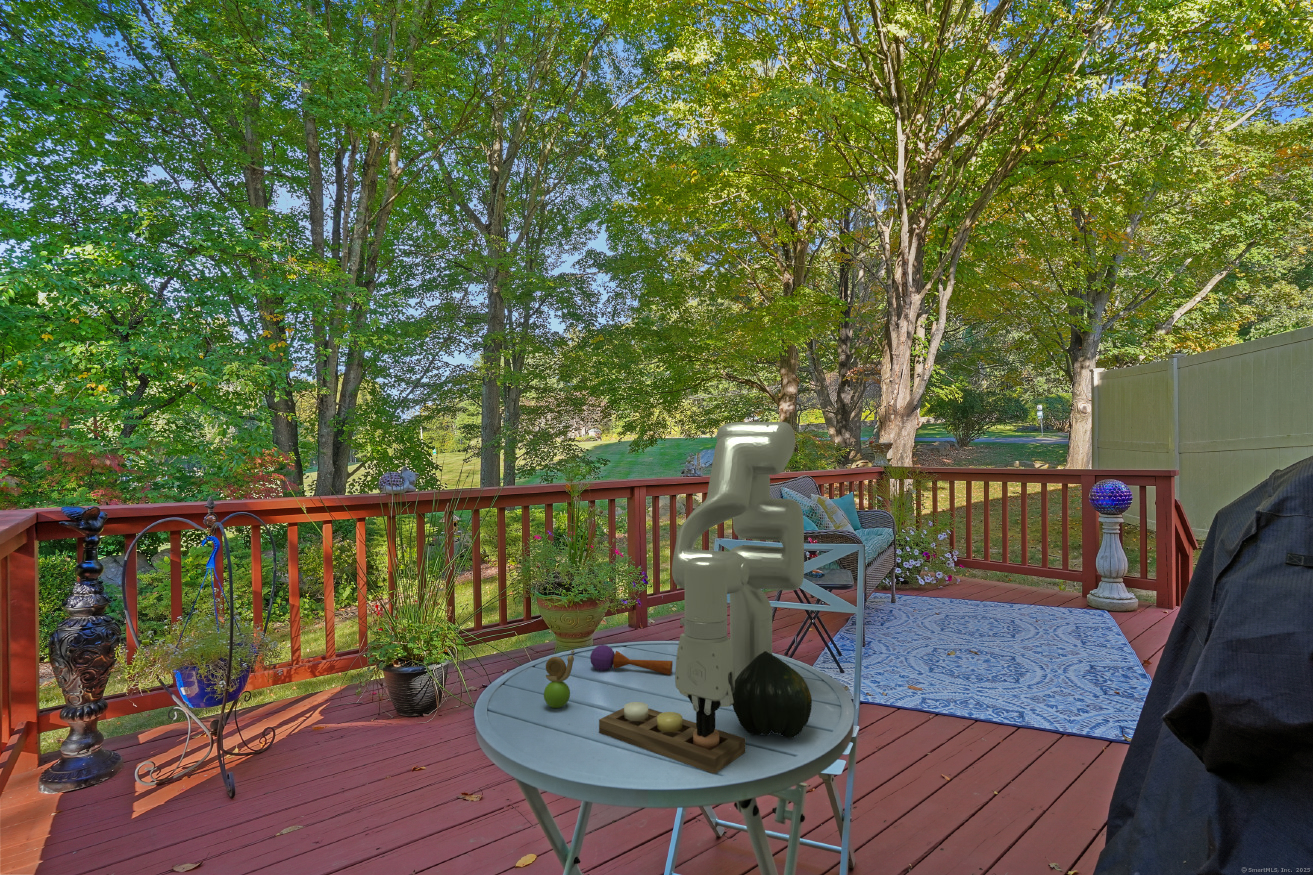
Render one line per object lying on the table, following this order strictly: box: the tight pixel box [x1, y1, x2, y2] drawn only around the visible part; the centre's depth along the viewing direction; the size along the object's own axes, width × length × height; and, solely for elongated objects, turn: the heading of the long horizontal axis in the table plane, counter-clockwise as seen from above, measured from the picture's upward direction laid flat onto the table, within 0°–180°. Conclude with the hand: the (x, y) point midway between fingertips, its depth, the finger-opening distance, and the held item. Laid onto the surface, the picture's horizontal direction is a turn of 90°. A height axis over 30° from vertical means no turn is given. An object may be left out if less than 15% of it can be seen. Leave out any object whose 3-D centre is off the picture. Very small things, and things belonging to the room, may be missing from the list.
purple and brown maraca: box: [589, 644, 674, 676], centre depth 160 cm, size 6×6×20 cm
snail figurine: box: [543, 649, 575, 709], centre depth 138 cm, size 5×6×12 cm
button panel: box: [598, 707, 746, 775], centre depth 121 cm, size 10×26×2 cm, turn 52°
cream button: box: [623, 701, 649, 721], centre depth 126 cm, size 5×5×2 cm
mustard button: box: [657, 711, 683, 732], centre depth 121 cm, size 5×5×2 cm
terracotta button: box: [693, 729, 719, 749], centre depth 116 cm, size 5×5×2 cm
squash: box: [732, 651, 813, 739], centre depth 127 cm, size 14×15×15 cm
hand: (705, 733), depth 116 cm, fingers closed
